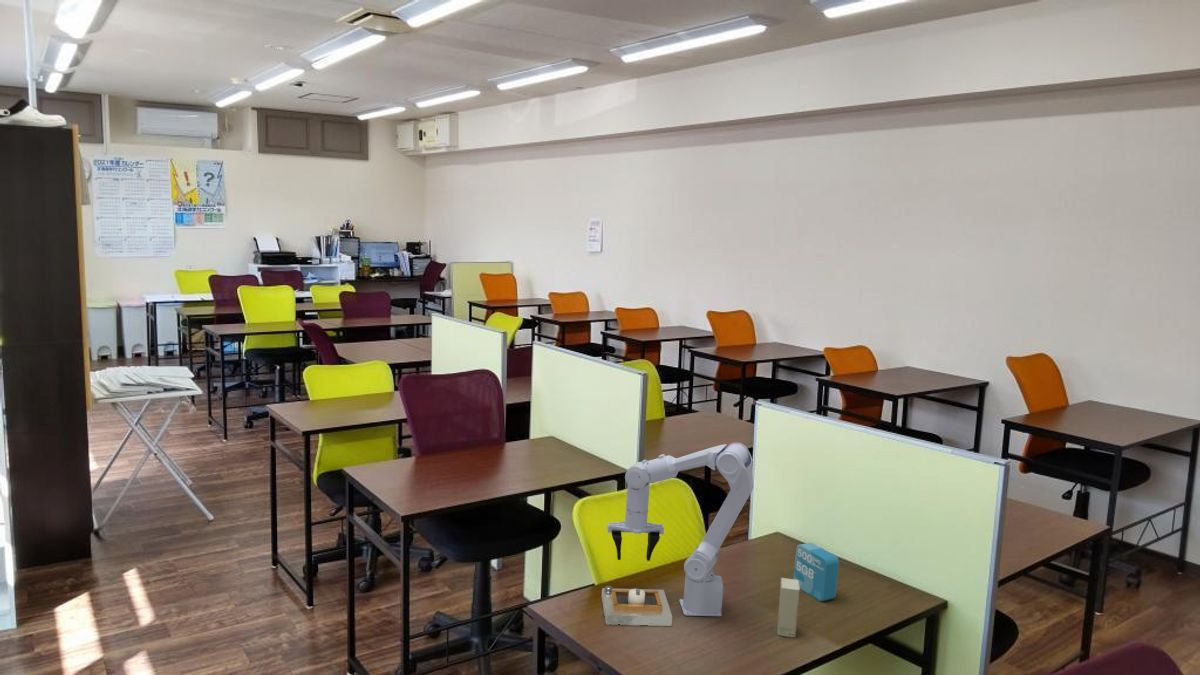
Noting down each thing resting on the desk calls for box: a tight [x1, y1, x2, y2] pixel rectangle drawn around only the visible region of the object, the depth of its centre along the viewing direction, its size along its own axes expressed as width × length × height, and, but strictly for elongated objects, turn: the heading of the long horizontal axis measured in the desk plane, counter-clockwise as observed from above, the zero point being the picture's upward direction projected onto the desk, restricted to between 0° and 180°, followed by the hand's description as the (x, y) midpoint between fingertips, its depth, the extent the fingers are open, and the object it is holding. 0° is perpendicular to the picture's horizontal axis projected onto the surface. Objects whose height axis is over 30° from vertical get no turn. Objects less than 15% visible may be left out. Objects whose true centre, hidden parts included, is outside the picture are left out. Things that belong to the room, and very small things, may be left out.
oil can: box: [628, 588, 645, 605], centre depth 201 cm, size 4×4×6 cm
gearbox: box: [601, 585, 673, 627], centre depth 202 cm, size 16×14×4 cm
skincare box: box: [776, 577, 801, 638], centre depth 196 cm, size 6×4×12 cm
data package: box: [792, 542, 840, 602], centre depth 218 cm, size 12×4×12 cm, turn 27°
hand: (633, 558), depth 210 cm, fingers open, 7 cm apart
